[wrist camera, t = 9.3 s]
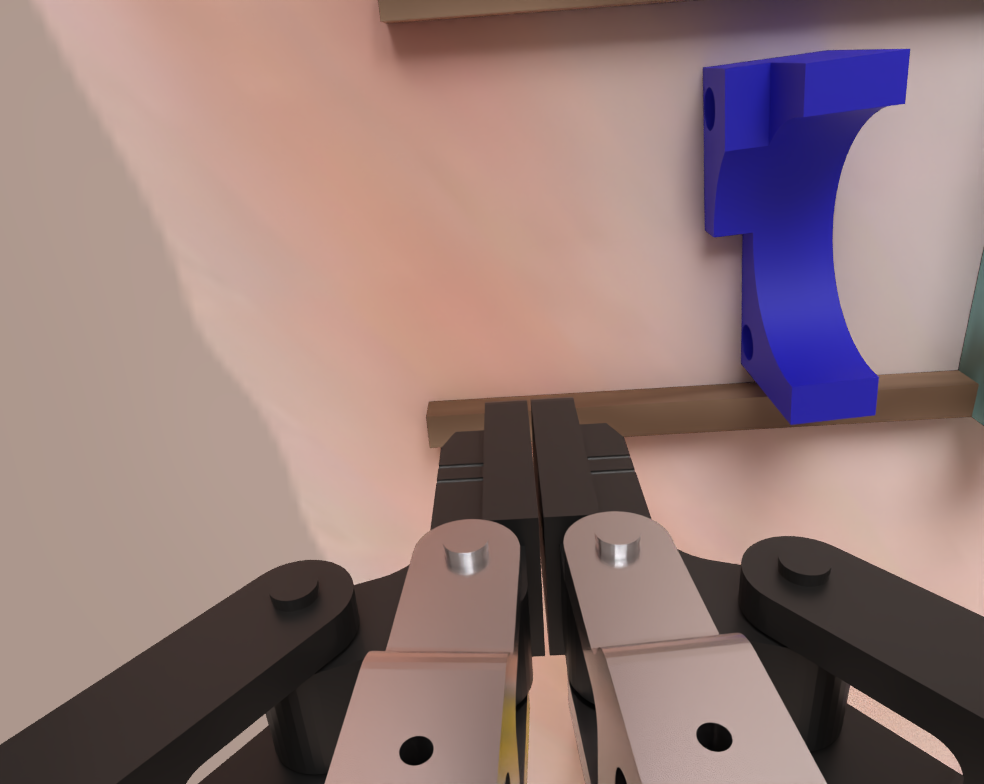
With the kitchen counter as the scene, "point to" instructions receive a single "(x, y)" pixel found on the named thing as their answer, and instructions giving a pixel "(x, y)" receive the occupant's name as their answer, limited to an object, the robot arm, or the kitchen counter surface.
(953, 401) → the guide channel
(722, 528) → the kitchen counter surface
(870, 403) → the cable clip
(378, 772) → the robot arm
